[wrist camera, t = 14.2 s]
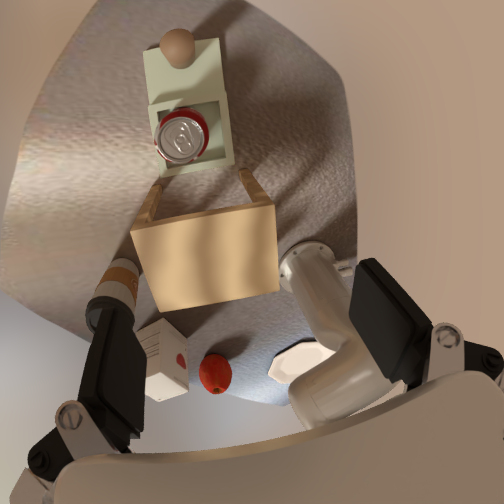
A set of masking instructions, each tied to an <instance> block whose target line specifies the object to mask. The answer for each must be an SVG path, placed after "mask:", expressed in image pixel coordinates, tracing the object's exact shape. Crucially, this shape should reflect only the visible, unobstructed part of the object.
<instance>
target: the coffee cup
mask: <svg viewBox="0 0 504 504" xmlns="http://www.w3.org/2000/svg"><path fill="white" fill-rule="evenodd" d="M138 280H139V271H138V268H137V267H136V265H135V264H134V263H133V262H132V261H130V260H129V259H126V258H119V259H116V260H114V261H112V262H111V263H110V265H109V267H108V269H107V271H106V272H105V273H104V275H103V277H102V279H101V281H100V283H99V284H98V286H97V288H96V290H95V293H94V295H93V297H92V299H91V300H90V301H89V303H88V305H87V309H86V314H85V316H86V323H87V326H88V328H89V330H90V331H91V332H92V333H93V334H94V333H95V330H96V327H97V323H98V320H99V317H100V314H101V311H102V309H103V308H110V307H117V308H118V309H119V310H122V311H123V313H124V314H125V316H126V318H127V320H128V322H129V324H130V326H131V328H132V329H133V326H134V322H135V318H134V312H135V306H136V299H137V291H138Z"/></svg>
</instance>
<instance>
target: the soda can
mask: <svg viewBox="0 0 504 504" xmlns="http://www.w3.org/2000/svg"><path fill="white" fill-rule="evenodd" d="M208 142H209V130H208V126H207V122H206V119H205V117H204V116H203V114H202V113H201V112H200V111H198V110H196V109H194V108H191V107H181V108H178V109H175V110H174V111H172V112H171V113H169V114H168V115H167V116H165V117H164V118H163V119H162V120H161V121H160V122H159V124H158V125H157V127H156V130H155V133H154V144H155V147H156V150H157V151H158V153H159V154H160V155H161V156H162V157H163V158H164V159H165V160H167V161H169V162H172V163H176V164H185V163H189V162H192V161H194V160H196V159H197V158H198V157H200V156H201V155H202V154H203V152H204V151H205V149H206V148H207V145H208Z"/></svg>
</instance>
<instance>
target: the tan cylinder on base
mask: <svg viewBox="0 0 504 504" xmlns="http://www.w3.org/2000/svg"><path fill="white" fill-rule="evenodd" d="M143 57H144V66H145V74H146V82H147V90H148V97H149V103H150V106H148V112H149V118H150V124H151V130H152V136H153V141H154V133H155V130H156V127H157V125H158V124H159V122H160V121H161V120H162V119H163V118H164V117H165V116H167V115H168V114H169V113H171V112H172V111H174V110H175V109H178V108H181V107H191V108H194V109H196V110H198V111H200V112H201V113H202V114H203V116H204V117H205V119H206V122H207V126H208V130H209V142H208V145H207V148H206V149H205V151H204V152H203V154H202V155H201V156H200V157H198V158H197V159H196V160H194V161H192V162H189V163H185V164H176V163H172V162H169V161H167V160H165V159H164V158H163V157H162V156H161V155H160V154H159V153H158V151H157V150H156V147H155V144H154V147H155V152H156V157H157V162H158V167H159V172H160V177H161V178H165V177H170V176H175V175H180V174H185V173H190V172H195V171H201V170H206V169H212V168H218V167H224V166H230V165H235V160H234V152H233V143H232V135H231V127H230V119H229V110H228V102H227V93H226V92H225V88H224V80H223V71H222V63H221V54H220V45H219V38H212V39H204V40H197V41H195V40H194V37H193V35H192V34H191V33H190V32H189V31H188V30H185V29H173V30H171V31H169V32H167V33H166V34H165V35H164V36H163V37H162V39H161V41H160V47H159V48H155V49H151V50H147V51H143Z"/></svg>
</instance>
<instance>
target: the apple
mask: <svg viewBox="0 0 504 504" xmlns="http://www.w3.org/2000/svg"><path fill="white" fill-rule="evenodd" d="M199 377H200V380H201V382H202V384H203V385H204V387H205V388H206V389H207V390H208V391H209V392H210V393H212V394H220V393H223V392H224V391H226V390H227V388H228V387H229V385H230V383H231V378H232V370H231V367H230V365H229V363H228V361H227V360H226V359H225V358H224V357H222V356H220V355H218V354H211V355H208V356H206V357H205V358H204V359H203V360H202V362H201V364H200V368H199Z"/></svg>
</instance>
